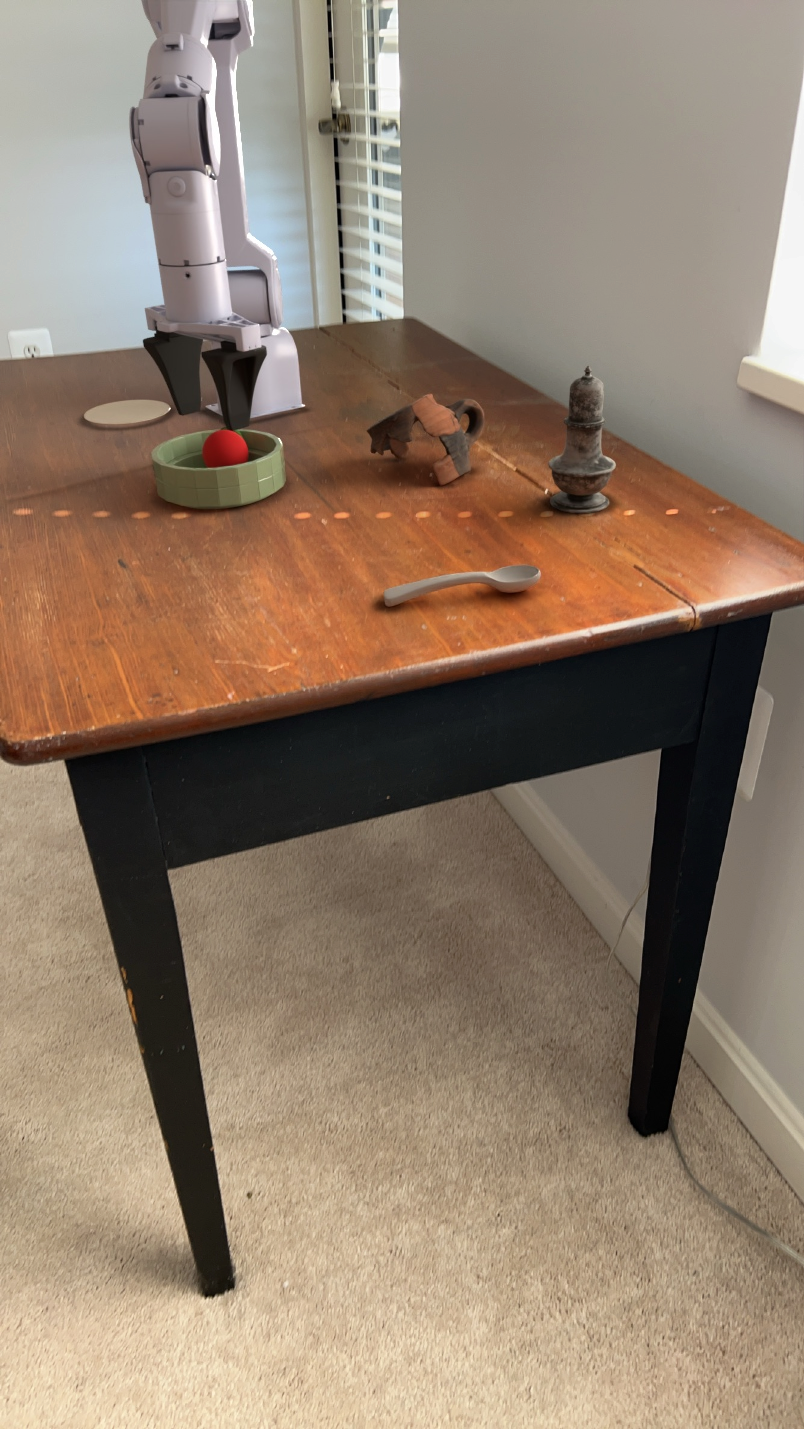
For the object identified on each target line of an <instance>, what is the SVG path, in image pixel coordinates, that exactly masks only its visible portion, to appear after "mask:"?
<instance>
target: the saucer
mask: <svg viewBox="0 0 804 1429" xmlns="http://www.w3.org/2000/svg"><path fill="white" fill-rule="evenodd" d="M170 410H171V405H169V404H168V403H166V402H163V401H160V400H156V399H155V400H153V399H127V400H118V401H112V402H108V403H104V404H100V405H97V406H94V407H92V408H90V409H88V410H87V411H85V412H84V414H83V418H84V419H85V420H86V421H88V422H90V423H95V424H99V425H127V424H135V423H141V422H146V421H151V420H154V419H157V418H160V417H162V416H164V415H166V414H167V413H169V412H170Z"/></svg>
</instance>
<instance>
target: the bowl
mask: <svg viewBox="0 0 804 1429" xmlns="http://www.w3.org/2000/svg"><path fill="white" fill-rule="evenodd" d="M220 429H221V428H218V429H217V428H216V429H210V430H200V431H195V432H191V433H185V434H182V435H178V436H176V437H173V438H169V439H167V440H165V441H163V442H161V443H159V444H157V445H156V446H155V447H154V448H153V449H152V450H151V453H150V457H151V464H152V470H153V475H154V481H155V486H156V491H157V495H158V496H159V497H160V498H161V499H163V500H164V501H165V502H169V503H172V504H175V505H178V506H181V507H185V508H189V509H197V510H198V509H199V510H221V509H229V508H231V509H232V508H236V507H242V506H245V505H250V504H253V503H256V502H260V501H262V500H264V499H266V498H267V497H269V496H271V495H273V494H276V493H277V492H278V491H279V490H280V489H282V488H283V487H284V486H285V483H286V481H287V473H286V472H287V471H286V462H285V454H284V452H285V451H284V444H283V442H282V440H281V439H280V438H279V437H278V436H276V435H274V434H272V433H269V432H266V431H260V430H256V429H246V428H241V429H238V431H239V432H240V433H241V435H242V438H243V439H244V441H245V443H246V445H247V447H248V461H247V463H243V464H238V465H233V466H225V467H217V468H208V467H207V466H206V464H205V462H204V459H203V454H202V450H203V445H204V442H205V440H206V439H207V438H208V436H210V435H211V434H212V433H214V432H216V431H218V430H220Z"/></svg>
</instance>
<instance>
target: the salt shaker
mask: <svg viewBox="0 0 804 1429" xmlns="http://www.w3.org/2000/svg"><path fill="white" fill-rule="evenodd" d="M583 372H584V374H583V375H582V376H580V377H577V378H576V379H574V380H573V381H572V382H571V383H570V386H569V393H568V412H567V413H568V414H567V416H566V417H564V419H563V424H565V426H566V432H565V434H566V435H565V445H564V449H563V452H562V454H560V455H557V456H554V457H552V458H551V459H550V460H549V461H548V464H547V465H548V468H549V469H550V470H551V477H552V480H553V483H554V485H555V486H556V487H557V488H558V490H560V491H558V492H557V493H555V494H554V495H553V496H551V497H550V499H549V503H550V505H551V506H552V507H553V508H554V509H556V510H558V511H561V512H566V513H572V514H592V513H596V512H600V511H603V510H605V509H606V508H608V507H609V506H610V499H609V498H608V497H607V496H606V495H604V494H603V493H601V491H602V490H603V489H605V488H606V487H607V485H608V483H609V481H610V479H611V477H612V472H613V471H614V470H615V469H616V466H617V465H616V462H615V460H614V459H612V458H610V457H608V456H606V455H603V449H602V434H603V431H602V430H603V426H604V425H606V423H607V420H606V418H605V417H603V410H604V409H603V407H604V395H605V386H604V383H603V382H602V380H601V379H599V378H598V377H595V376H594V375H593V374H591V373H592V372H593V370H592V367H590V365H587V366H586V367H585V369H584V370H583Z"/></svg>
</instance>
